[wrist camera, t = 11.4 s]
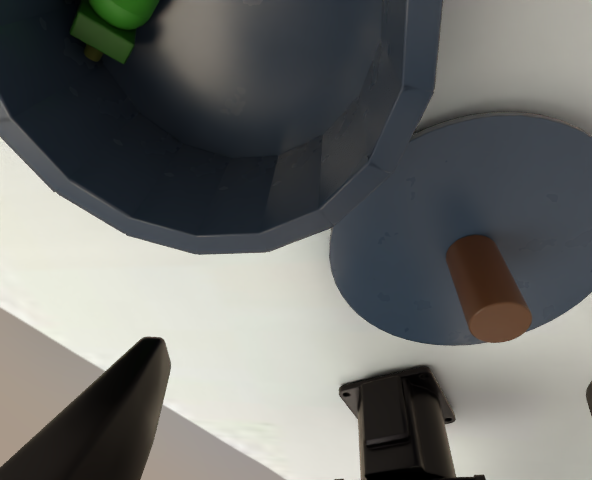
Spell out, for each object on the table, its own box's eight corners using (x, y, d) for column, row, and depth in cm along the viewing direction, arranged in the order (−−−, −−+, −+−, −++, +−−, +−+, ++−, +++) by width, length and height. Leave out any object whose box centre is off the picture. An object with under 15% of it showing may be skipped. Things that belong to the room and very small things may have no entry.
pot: (448, 92, 17) (498, 164, 12) (198, 207, 21) (154, 296, 16) (303, -360, 11) (275, -638, 5) (-12, -66, 15) (-196, -64, 10)
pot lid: (630, 290, 22) (704, 381, 18) (385, 353, 27) (396, 438, 22) (604, 42, 15) (715, 88, 11) (281, 185, 20) (266, 258, 16)
